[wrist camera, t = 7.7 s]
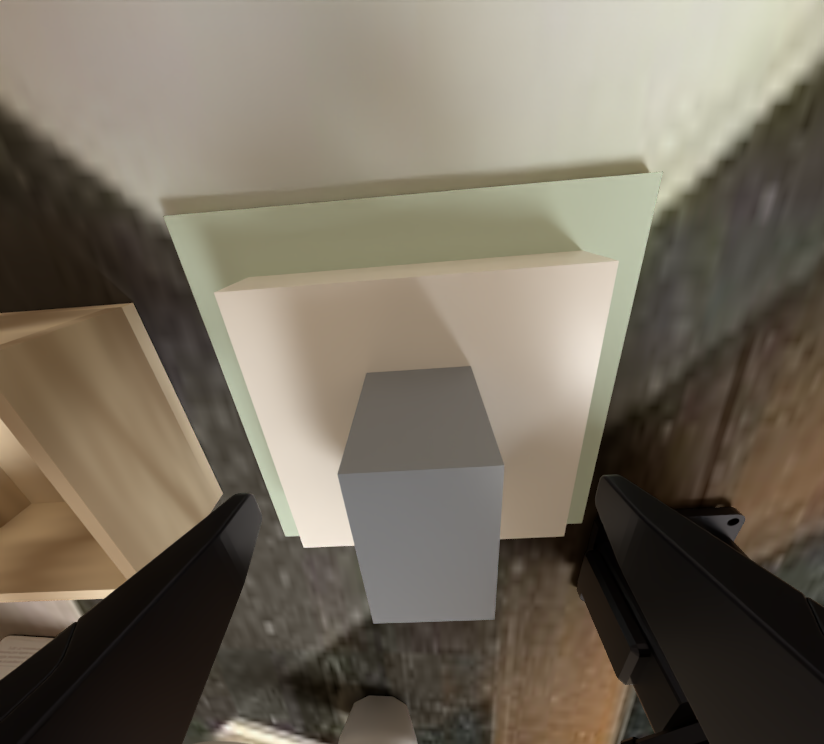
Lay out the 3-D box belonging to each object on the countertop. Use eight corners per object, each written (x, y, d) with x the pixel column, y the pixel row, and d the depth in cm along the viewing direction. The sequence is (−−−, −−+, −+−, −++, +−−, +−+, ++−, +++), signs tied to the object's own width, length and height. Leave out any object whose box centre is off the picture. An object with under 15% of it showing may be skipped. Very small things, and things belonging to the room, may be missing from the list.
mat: (651, 172, 9) (663, 171, 9) (577, 514, 16) (581, 523, 15) (174, 215, 10) (163, 215, 10) (288, 527, 16) (285, 536, 16)
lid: (582, 250, 10) (780, 307, 4) (545, 495, 14) (621, 666, 9) (248, 277, 10) (68, 357, 5) (316, 506, 15) (262, 675, 10)
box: (132, 302, 11) (-24, 358, 7) (222, 493, 15) (154, 596, 11) (-113, 321, 12) (-392, 385, 8) (38, 503, 16) (-90, 605, 12)
